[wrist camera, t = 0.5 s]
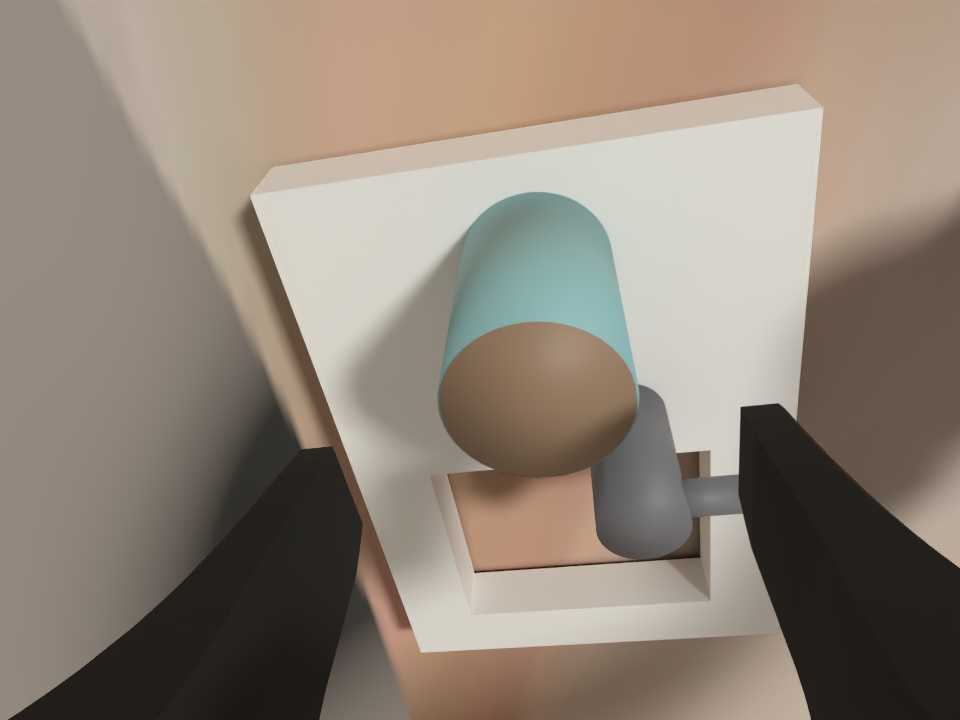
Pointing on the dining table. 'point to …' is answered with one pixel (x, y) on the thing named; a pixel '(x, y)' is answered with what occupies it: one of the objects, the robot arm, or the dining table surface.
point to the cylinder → (537, 341)
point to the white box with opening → (651, 329)
